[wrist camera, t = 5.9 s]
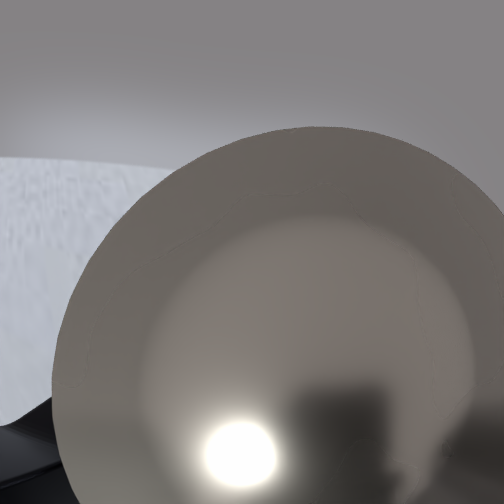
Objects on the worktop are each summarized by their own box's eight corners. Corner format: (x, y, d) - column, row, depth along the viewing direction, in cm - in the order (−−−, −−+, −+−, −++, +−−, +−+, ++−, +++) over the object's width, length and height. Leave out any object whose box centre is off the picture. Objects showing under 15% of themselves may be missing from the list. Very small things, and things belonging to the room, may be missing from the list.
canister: (323, 383, 16) (579, 431, 2) (228, 428, 15) (217, 664, 1) (279, 292, 17) (426, 76, 3) (183, 334, 16) (-25, 236, 2)
